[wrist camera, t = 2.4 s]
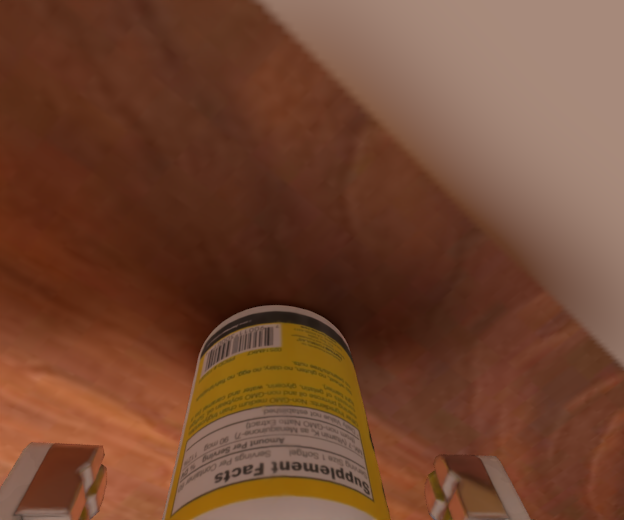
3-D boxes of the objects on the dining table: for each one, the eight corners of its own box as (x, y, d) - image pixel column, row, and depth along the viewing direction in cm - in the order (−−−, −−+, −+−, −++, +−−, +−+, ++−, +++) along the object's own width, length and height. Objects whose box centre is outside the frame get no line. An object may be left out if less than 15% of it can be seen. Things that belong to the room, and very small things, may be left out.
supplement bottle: (312, 428, 15) (348, 822, 8) (179, 395, 14) (66, 829, 6) (378, 327, 13) (515, 729, 6) (229, 276, 12) (151, 710, 4)
